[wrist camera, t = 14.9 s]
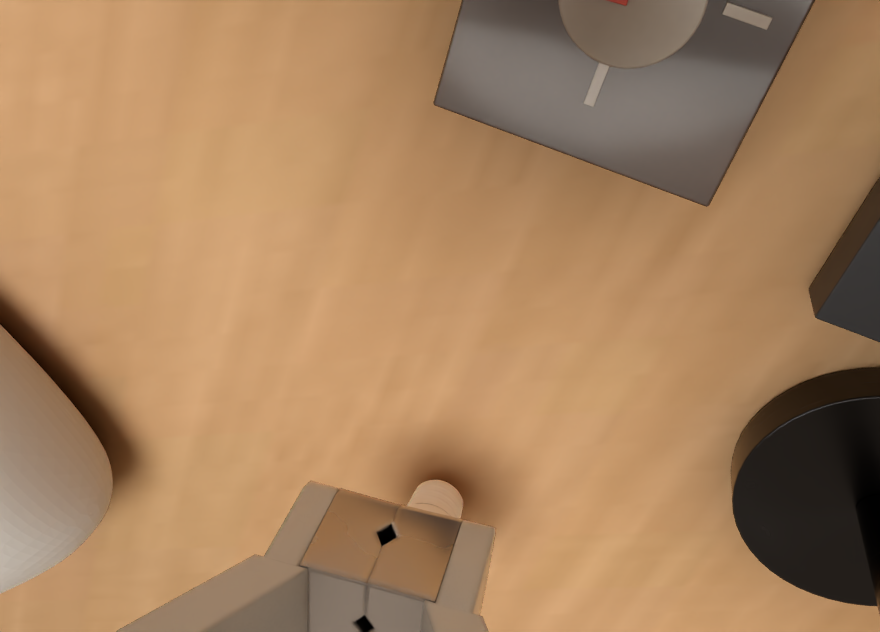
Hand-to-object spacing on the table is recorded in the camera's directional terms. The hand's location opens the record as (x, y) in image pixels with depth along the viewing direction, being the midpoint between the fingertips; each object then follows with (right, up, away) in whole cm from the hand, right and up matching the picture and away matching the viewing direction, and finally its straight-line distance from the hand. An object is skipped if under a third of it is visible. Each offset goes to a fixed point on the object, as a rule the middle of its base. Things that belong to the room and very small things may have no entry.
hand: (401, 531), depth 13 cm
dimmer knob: (+7, +14, +12) cm, 19 cm away
